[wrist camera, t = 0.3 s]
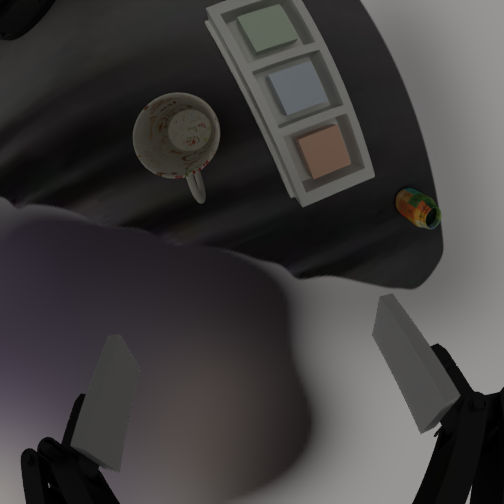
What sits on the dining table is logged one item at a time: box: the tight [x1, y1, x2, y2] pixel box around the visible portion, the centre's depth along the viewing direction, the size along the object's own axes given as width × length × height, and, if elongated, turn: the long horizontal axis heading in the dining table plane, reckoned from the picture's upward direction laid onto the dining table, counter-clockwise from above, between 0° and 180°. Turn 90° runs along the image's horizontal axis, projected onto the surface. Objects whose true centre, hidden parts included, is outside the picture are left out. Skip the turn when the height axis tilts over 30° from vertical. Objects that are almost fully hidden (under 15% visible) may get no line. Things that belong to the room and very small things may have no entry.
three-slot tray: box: [205, 0, 375, 207], centre depth 27 cm, size 26×11×6 cm, turn 24°
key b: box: [266, 61, 328, 115], centre depth 26 cm, size 5×5×2 cm
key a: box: [236, 4, 299, 56], centre depth 22 cm, size 5×5×2 cm
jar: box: [396, 188, 441, 229], centre depth 34 cm, size 5×5×8 cm
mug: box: [133, 92, 220, 203], centre depth 28 cm, size 8×13×10 cm, turn 15°
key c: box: [294, 124, 351, 179], centre depth 30 cm, size 5×5×2 cm
